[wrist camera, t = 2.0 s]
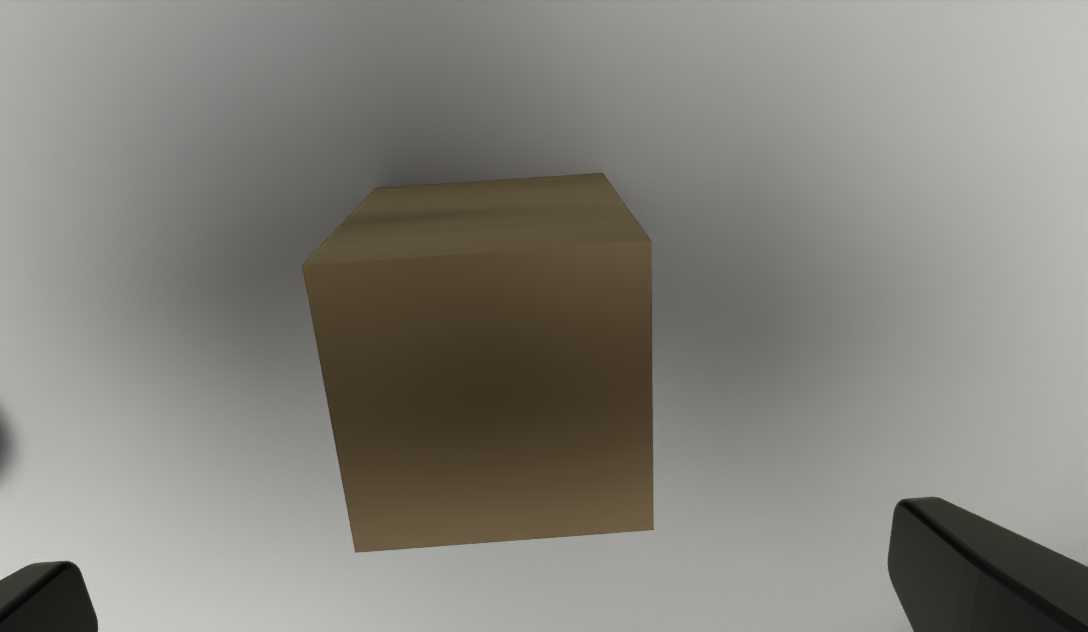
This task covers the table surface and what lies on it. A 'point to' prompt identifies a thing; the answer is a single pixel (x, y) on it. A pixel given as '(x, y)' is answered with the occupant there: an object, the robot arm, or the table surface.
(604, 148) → the table surface
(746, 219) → the table surface
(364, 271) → the walnut block
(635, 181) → the table surface
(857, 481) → the table surface
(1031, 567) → the robot arm
